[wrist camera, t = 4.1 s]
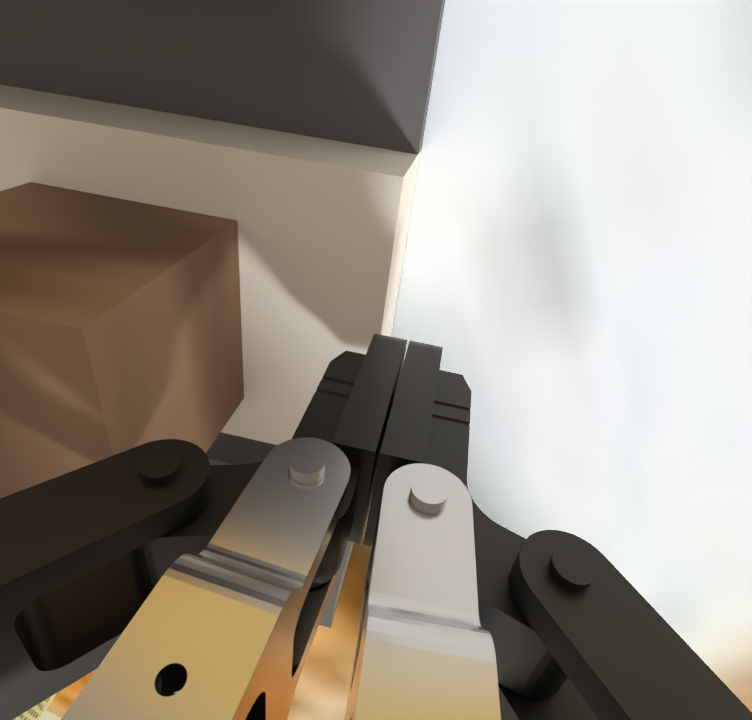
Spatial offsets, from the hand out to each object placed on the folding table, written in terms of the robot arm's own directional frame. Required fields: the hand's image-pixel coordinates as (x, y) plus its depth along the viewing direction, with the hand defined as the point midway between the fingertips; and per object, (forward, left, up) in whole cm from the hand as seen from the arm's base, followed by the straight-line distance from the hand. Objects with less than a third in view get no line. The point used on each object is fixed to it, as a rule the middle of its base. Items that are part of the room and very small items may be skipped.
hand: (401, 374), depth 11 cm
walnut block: (+7, 0, -1) cm, 7 cm away
